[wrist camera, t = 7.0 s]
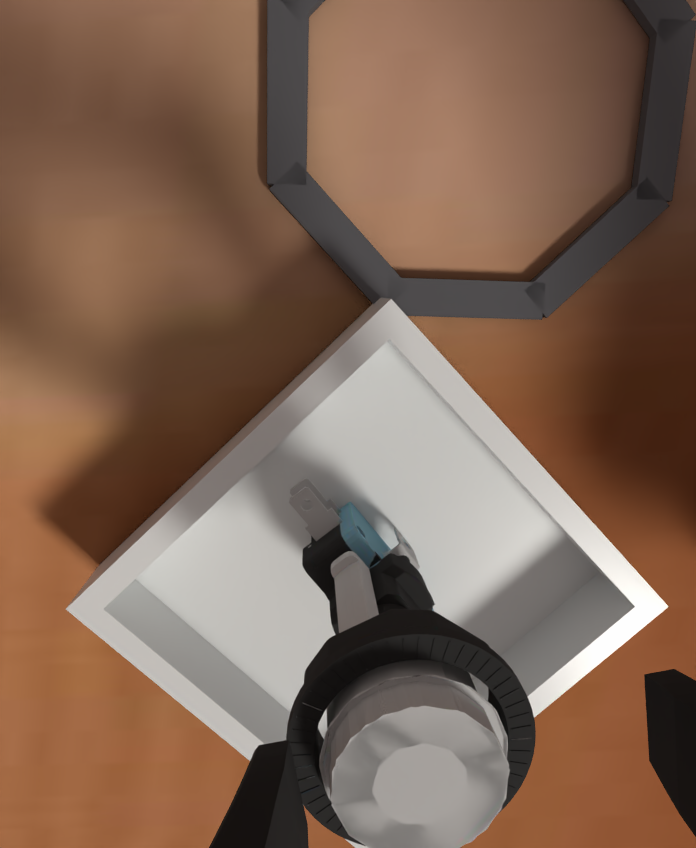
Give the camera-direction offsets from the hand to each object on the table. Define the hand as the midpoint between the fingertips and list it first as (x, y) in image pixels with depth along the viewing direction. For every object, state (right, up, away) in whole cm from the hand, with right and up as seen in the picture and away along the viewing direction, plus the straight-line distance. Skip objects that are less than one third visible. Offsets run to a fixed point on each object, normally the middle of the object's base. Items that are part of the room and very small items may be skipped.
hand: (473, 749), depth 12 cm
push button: (-2, +2, +10) cm, 10 cm away
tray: (-2, +1, +10) cm, 10 cm away
